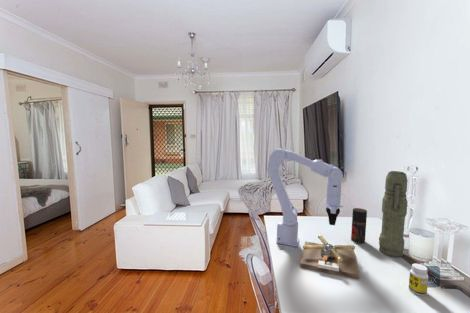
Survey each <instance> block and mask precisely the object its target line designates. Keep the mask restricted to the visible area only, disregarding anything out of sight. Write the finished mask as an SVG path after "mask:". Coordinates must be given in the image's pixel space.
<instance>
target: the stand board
mask: <svg viewBox="0 0 470 313" xmlns="http://www.w3.org/2000/svg"><path fill="white" fill-rule="evenodd" d="M303 245H323V247H325V245H324V244H323V243H318V242H311V241H304V243H303ZM334 247H335V245H333V248H334ZM334 249H335V248H334ZM337 254H338V255H339V256H340V257H341V258H342V262H341V263H340V262H338V261H337V260H336V259H334V260H328V262H330V263H331V266H332V263H336V264H339V272H338V271H333V270H328V269H324V268H319V267H318V262H319V260H320V261H322V258H323V257H322V256H321V249H306V250H305V249H303V248H302V253H301V258H300V261H299V267H300V268H304V269H309V270H314V271H318V272H323V273H328V274H334V275H338V276H343V277H347V278H351V279H357V280H359V279H360V273H359V268H358V264H357V260H356V259H357V258H356V254H355V249H354V250H337ZM325 265H326V264H325Z"/></svg>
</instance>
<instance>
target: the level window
mask: <svg viewBox="0 0 470 313" xmlns="http://www.w3.org/2000/svg"><path fill="white" fill-rule="evenodd" d="M318 267H319V268H324V269H328V270H333V271H338V272H339V264H336V263H332V266H331V263H330V262H327V263H326V265H325V261H320V260H319V262H318Z"/></svg>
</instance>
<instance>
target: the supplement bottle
mask: <svg viewBox="0 0 470 313" xmlns="http://www.w3.org/2000/svg"><path fill="white" fill-rule="evenodd" d="M428 272H429V271H428V267H426V266H425V265H423V264H420V263H412V264H411V269H410V270H409V276H408V277H409V279H408V290H409V291H410V292H411V293H412V294H414V295H418V296H422V297H423V296H426V295H427V294H428V285H429V284H428V283H429V275H428Z"/></svg>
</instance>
